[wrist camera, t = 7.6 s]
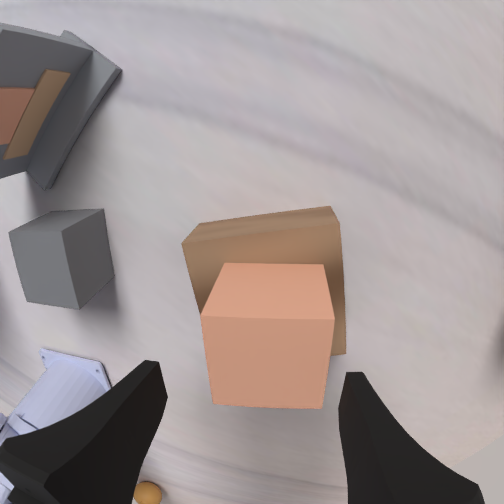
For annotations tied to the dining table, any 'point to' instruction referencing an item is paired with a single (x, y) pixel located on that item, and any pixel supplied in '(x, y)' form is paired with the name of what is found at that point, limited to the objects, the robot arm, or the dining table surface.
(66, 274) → the charcoal cube
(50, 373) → the robot arm
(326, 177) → the dining table surface
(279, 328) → the terracotta cube
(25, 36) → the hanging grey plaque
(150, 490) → the figurine
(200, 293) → the walnut base block
